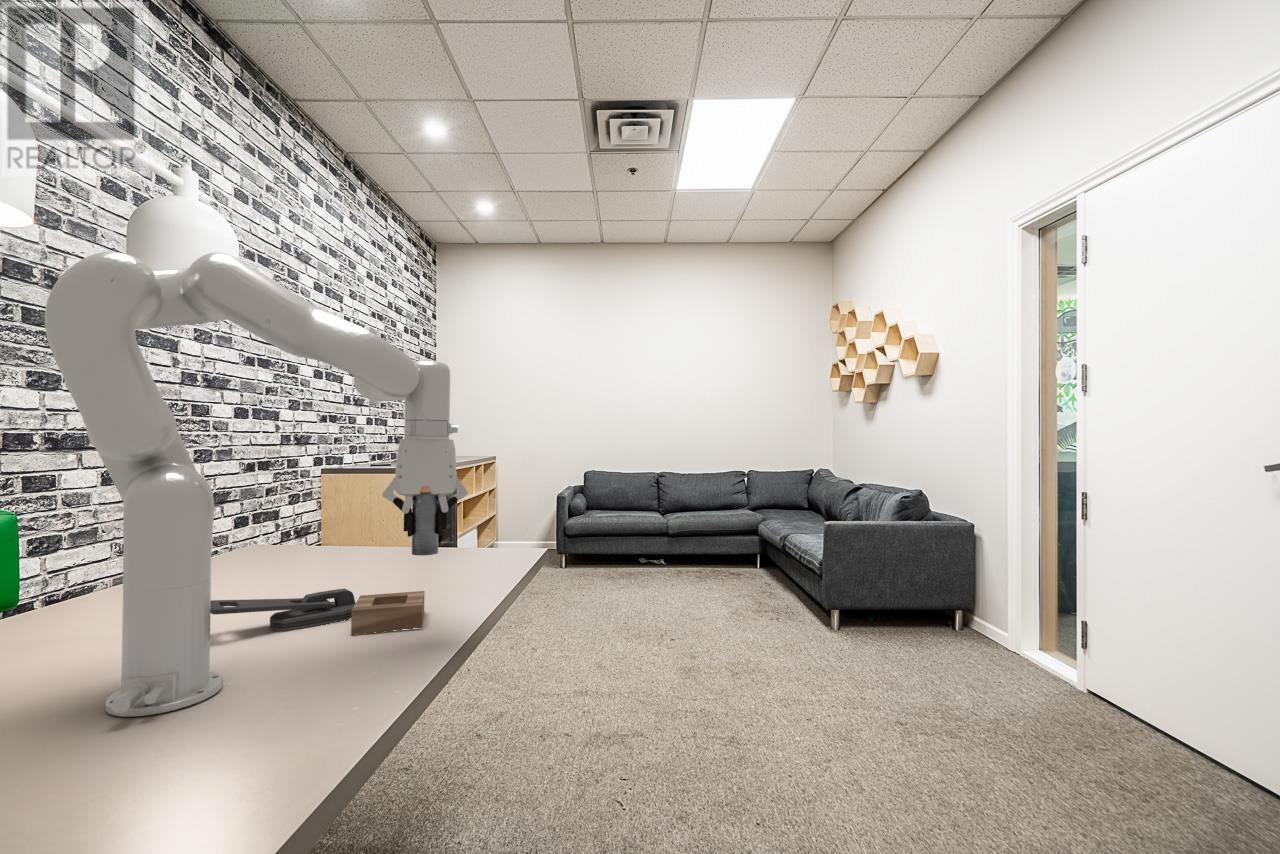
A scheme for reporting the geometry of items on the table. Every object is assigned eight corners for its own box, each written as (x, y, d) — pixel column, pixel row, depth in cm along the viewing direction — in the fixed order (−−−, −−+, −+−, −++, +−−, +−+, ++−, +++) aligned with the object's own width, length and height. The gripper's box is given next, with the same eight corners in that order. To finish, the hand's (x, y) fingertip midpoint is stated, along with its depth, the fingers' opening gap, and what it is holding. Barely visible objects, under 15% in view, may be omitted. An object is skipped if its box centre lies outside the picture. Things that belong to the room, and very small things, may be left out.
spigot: (438, 554, 104) (439, 485, 104) (410, 556, 103) (411, 485, 103) (438, 550, 108) (440, 483, 109) (411, 551, 107) (413, 484, 107)
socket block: (421, 629, 112) (422, 604, 112) (351, 635, 108) (351, 610, 108) (424, 613, 122) (424, 590, 122) (359, 618, 119) (360, 595, 119)
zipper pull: (200, 600, 108) (346, 577, 126) (199, 637, 108) (346, 609, 125) (209, 610, 102) (362, 585, 119) (208, 649, 101) (362, 618, 119)
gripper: (475, 432, 112) (474, 530, 112) (377, 431, 107) (375, 533, 107) (477, 431, 105) (475, 536, 105) (372, 430, 100) (370, 540, 99)
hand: (425, 533), depth 106 cm, fingers closed on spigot, 4 cm apart
